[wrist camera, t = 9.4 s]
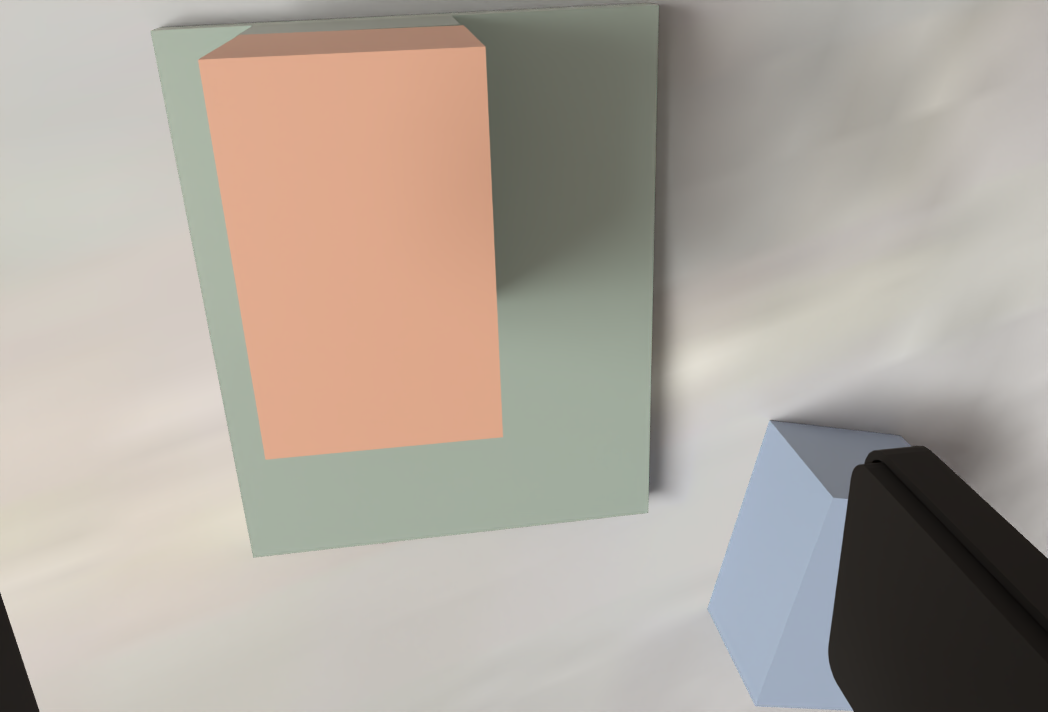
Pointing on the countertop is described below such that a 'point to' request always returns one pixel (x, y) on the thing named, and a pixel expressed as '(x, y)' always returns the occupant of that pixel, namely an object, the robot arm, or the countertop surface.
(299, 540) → the build plate
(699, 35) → the countertop surface
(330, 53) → the terracotta brick
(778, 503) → the slate brick
